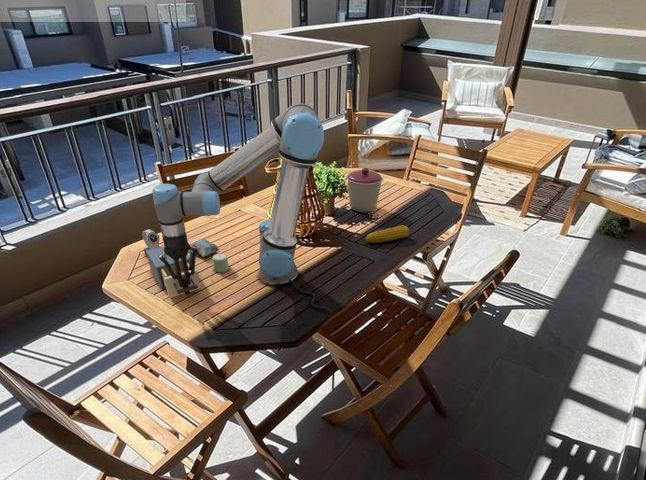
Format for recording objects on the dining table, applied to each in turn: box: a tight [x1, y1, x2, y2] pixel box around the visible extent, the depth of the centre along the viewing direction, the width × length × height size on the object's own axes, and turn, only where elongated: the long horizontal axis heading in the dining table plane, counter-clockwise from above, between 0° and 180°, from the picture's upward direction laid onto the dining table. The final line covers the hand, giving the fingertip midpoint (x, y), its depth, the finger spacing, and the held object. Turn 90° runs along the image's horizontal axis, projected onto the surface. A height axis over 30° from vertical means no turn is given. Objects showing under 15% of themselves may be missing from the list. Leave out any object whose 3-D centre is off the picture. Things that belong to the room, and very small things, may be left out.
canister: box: [346, 167, 384, 213], centre depth 223 cm, size 18×18×21 cm
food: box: [364, 225, 410, 244], centre depth 200 cm, size 21×6×6 cm, turn 115°
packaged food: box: [190, 238, 221, 258], centre depth 187 cm, size 9×12×5 cm
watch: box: [142, 228, 161, 257], centre depth 183 cm, size 6×8×11 cm
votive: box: [212, 253, 230, 274], centre depth 176 cm, size 6×6×6 cm
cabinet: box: [146, 245, 190, 290], centre depth 170 cm, size 15×13×10 cm
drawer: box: [159, 262, 201, 298], centre depth 163 cm, size 20×11×8 cm, turn 33°
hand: (186, 292), depth 159 cm, fingers closed
